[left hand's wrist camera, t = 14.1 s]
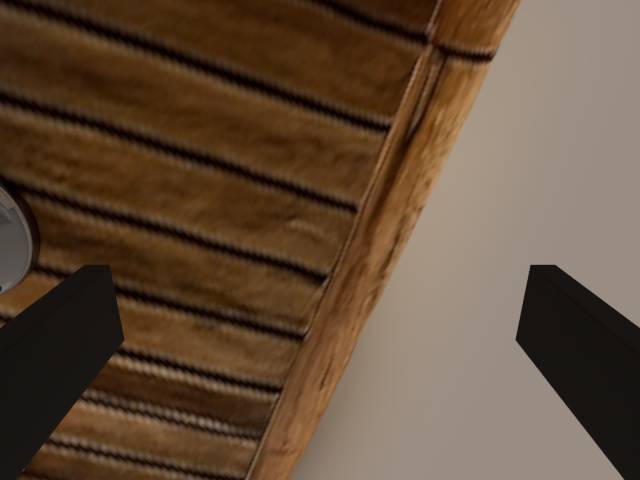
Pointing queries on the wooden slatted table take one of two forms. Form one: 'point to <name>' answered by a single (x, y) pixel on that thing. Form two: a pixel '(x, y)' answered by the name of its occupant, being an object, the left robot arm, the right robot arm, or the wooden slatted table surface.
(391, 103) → the wooden slatted table surface
